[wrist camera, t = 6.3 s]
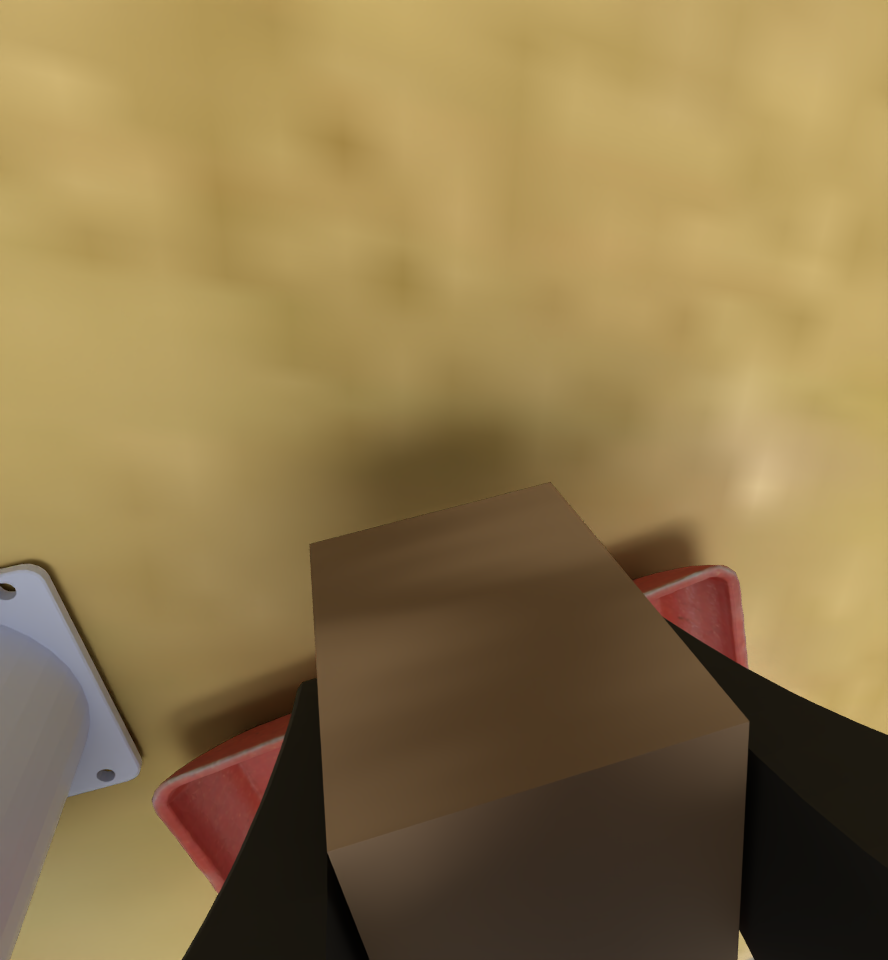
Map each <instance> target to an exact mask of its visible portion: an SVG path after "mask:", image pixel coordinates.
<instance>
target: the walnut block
mask: <svg viewBox="0 0 888 960" xmlns="http://www.w3.org/2000/svg"><path fill="white" fill-rule="evenodd" d="M309 545H310V563H311V580H312V597H313V615H314V632H315V649H316V667H317V684H318V702H319V719H320V736H321V754H322V771H323V788H324V806H325V823H326V841H327V853H328V855H329V858H330V860H331V863H332V866H333V868H334V871H335V873H336V876H337V878H338V881H339V883H340V886H341V888H342V891H343V893H344V896H345V899H346V901H347V904H348V906H349V909H350V911H351V914H352V916H353V919H354V921H355V924H356V926H357V929H358V932H359V934H360V937H361V939H362V942H363V944H364V947H365V949H366V952H367V954H368V957H369V959H370V960H737V959H738V939H739V919H740V899H741V879H742V859H743V839H744V819H745V799H746V779H747V759H748V739H749V720H748V719H747V718H746V717H745V715H744V714H743V713H742V712H741V711H740V709H739V708H738V707H737V706H736V705H735V703H734V702H733V701H732V700H731V699H730V697H729V696H728V695H727V694H726V693H725V691H724V690H723V689H722V688H721V687H720V685H719V684H718V683H717V682H716V681H715V679H714V678H713V677H712V676H711V675H710V673H709V672H708V671H707V670H706V669H705V667H704V666H703V665H702V664H701V663H700V661H699V660H698V659H697V658H696V657H695V655H694V654H693V653H692V652H691V651H690V649H689V648H688V647H687V646H686V644H685V643H684V642H683V641H682V640H681V638H680V637H679V636H678V635H677V634H676V632H675V631H674V630H673V629H672V628H671V626H670V625H669V624H668V623H667V622H666V620H665V619H664V618H663V617H662V616H661V614H660V613H659V612H658V611H657V610H656V608H655V607H654V606H653V605H652V604H651V602H650V601H649V600H648V599H647V598H646V596H645V595H644V594H643V593H642V592H641V590H640V589H639V588H638V587H637V586H636V584H635V583H634V582H633V581H632V580H631V578H630V577H629V576H628V575H627V574H626V572H625V571H624V570H623V569H622V568H621V566H620V565H619V564H618V563H617V562H616V560H615V559H614V558H613V557H612V555H611V554H610V553H609V552H608V551H607V549H606V548H605V547H604V546H603V545H602V543H601V542H600V541H599V540H598V539H597V537H596V536H595V535H594V534H593V533H592V531H591V530H590V529H589V528H588V527H587V525H586V524H585V523H584V522H583V521H582V519H581V518H580V517H579V516H578V515H577V513H576V512H575V511H574V510H573V509H572V507H571V506H570V505H569V504H568V503H567V501H566V500H565V499H564V498H563V497H562V495H561V494H560V493H559V492H558V491H557V489H556V488H555V487H554V486H553V485H552V483H551V482H549V483H545V484H541V485H538V486H534V487H530V488H526V489H522V490H518V491H514V492H510V493H506V494H503V495H499V496H495V497H491V498H487V499H483V500H479V501H475V502H471V503H467V504H464V505H460V506H456V507H452V508H448V509H444V510H440V511H436V512H432V513H429V514H425V515H421V516H417V517H413V518H409V519H405V520H401V521H397V522H394V523H390V524H386V525H382V526H378V527H374V528H370V529H366V530H362V531H358V532H355V533H351V534H347V535H343V536H339V537H335V538H331V539H327V540H323V541H320V542H316V543H312V544H309Z"/></svg>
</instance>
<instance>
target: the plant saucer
mask: <svg viewBox="0 0 888 960" xmlns="http://www.w3.org/2000/svg"><path fill="white" fill-rule="evenodd" d="M632 581H633V582H634V583H635V584H636V586H637V587H638V588H639V589H640V590H641V592H642V593H643V594H644V595H645V596H646V598H647V599H648V600H649V601H650V602H651V604H652V605H653V606H654V607H655V608H656V610H657V611H658V612H659V613H660V614H661V616H662V617H664V618H666V619H667V620H669V621H670V622H672V623H673V624H675V625H676V626H678V627H680V628H681V629H683V630H684V631H686V632H687V633H689V634H690V635H692V636H694V637H695V638H697V639H698V640H700V641H702V642H703V643H705V644H707V645H708V646H710V647H712V648H713V649H715V650H717V651H718V652H720V653H722V654H723V655H725V656H727V657H728V658H730V659H732V660H733V661H735V662H737V663H738V664H740V665H742V666H744V667H745V668H747V669H748V661H747V650H746V636H745V630H744V614H743V610H742V603H741V590H740V584H739V580H738V577H737V575H736V573H735V572H734V571H733V570H732V569H730V568H729V567H727V566H724V565H702V566H689V567H683V568H677V569H673V570H668V571H664V572H659V573H655V574H651V575H648V576H644V577H641V578H637V579H634V580H632ZM290 717H291V714H288V715H286V716H283V717H280V718H278V719H275V720H273V721H270V722H268V723H265V724H262V725H259V726H257V727H255V728H252V729H250V730H248V731H246V732H243V733H241V734H239V735H237V736H235V737H233V738H231V739H230V740H228V741H226V742H224V743H222V744H220V745H218V746H216V747H215V748H213V749H211V750H209V751H208V752H206V753H204V754H202V755H201V756H199V757H197V758H196V759H194V760H193V761H191V762H190V763H188V764H187V765H185V766H184V767H182V768H181V769H179V770H178V771H176V772H175V773H174V774H173V775H171V776H170V777H169V778H168V779H166V780H165V781H164V782H163V783H162V784H160V786H159V787H158V788H157V789H156V790H155V792H154V795H153V798H152V803H153V807H154V809H155V811H156V813H157V815H158V816H159V817H160V819H161V820H162V821H163V822H164V823H165V825H166V826H167V827H168V829H169V830H170V831H171V832H172V834H173V835H174V836H175V837H176V838H177V840H178V841H179V843H180V844H181V846H182V847H183V848H184V849H185V851H186V852H187V853H188V855H189V856H190V857H191V859H192V860H193V861H194V863H195V864H196V866H197V867H198V868H199V869H200V870H201V872H202V873H203V874H204V875H205V876H206V877H207V879H208V880H209V881H210V883H211V884H212V886H213V887H214V889H215V890H216V891H217V893H218V894H219V892H220V890H221V888H222V886H223V884H224V882H225V880H226V878H227V876H228V874H229V872H230V870H231V868H232V866H233V864H234V861H235V859H236V857H237V855H238V853H239V851H240V849H241V846H242V844H243V842H244V839H245V837H246V835H247V833H248V830H249V828H250V826H251V823H252V821H253V819H254V816H255V814H256V812H257V809H258V807H259V805H260V802H261V800H262V797H263V795H264V792H265V790H266V787H267V784H268V782H269V779H270V776H271V773H272V771H273V768H274V765H275V763H276V760H277V757H278V754H279V752H280V749H281V745H282V742H283V739H284V736H285V733H286V730H287V727H288V724H289V720H290Z"/></svg>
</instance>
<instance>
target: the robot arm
mask: <svg viewBox="0 0 888 960" xmlns="http://www.w3.org/2000/svg"><path fill="white" fill-rule="evenodd" d="M0 583H7V584H10V585H12V586H13V587H14V588H15V589H16V591H11V592H9V591H6V590H4V589H3V588H2V587H1V586H0V960H10V958H11V955H12V952H13V949H14V947H15V944H16V941H17V938H18V935H19V932H20V929H21V927H22V924H23V921H24V918H25V915H26V912H27V910H28V907H29V904H30V901H31V898H32V895H33V892H34V890H35V887H36V884H37V881H38V878H39V875H40V873H41V870H42V867H43V864H44V861H45V858H46V856H47V853H48V850H49V847H50V844H51V841H52V838H53V836H54V833H55V830H56V827H57V824H58V821H59V819H60V816H61V813H62V810H63V807H64V804H65V801H66V799H67V797H70V796H74V795H78V794H82V793H85V792H89V791H93V790H96V789H100V788H104V787H107V786H111V785H115V784H119V783H122V782H126V781H129V780H132V779H134V778H135V777H137V776H138V775H139V772H140V770H141V766H142V758H141V756H140V754H139V752H138V750H137V748H136V746H135V744H134V742H133V740H132V738H131V736H130V734H129V732H128V730H127V728H126V726H125V724H124V722H123V720H122V718H121V716H120V714H119V712H118V710H117V708H116V706H115V704H114V702H113V701H112V699H111V697H110V695H109V693H108V691H107V689H106V687H105V685H104V683H103V681H102V679H101V677H100V675H99V673H98V671H97V669H96V667H95V665H94V663H93V661H92V659H91V657H90V655H89V653H88V651H87V649H86V647H85V645H84V643H83V641H82V639H81V637H80V635H79V633H78V631H77V629H76V627H75V625H74V623H73V622H72V620H71V618H70V616H69V614H68V612H67V610H66V608H65V606H64V604H63V602H62V600H61V598H60V596H59V594H58V592H57V590H56V588H55V586H54V584H53V582H52V580H51V578H50V576H49V575H48V573H47V572H46V571H45V570H44V569H43V568H41V567H39V566H37V565H33V564H20V565H16V566H11V567H7V568H2V569H0ZM663 618H664V617H663ZM664 619H665V620H666V622H667V623H668V624H669V625H670V626H671V628H672V629H673V630H674V631H675V632H676V634H677V635H678V636H679V637H680V638H681V640H682V641H683V642H684V643H685V644H686V646H687V647H688V648H689V649H690V651H691V652H692V653H693V654H694V655H695V657H696V658H697V659H698V660H699V661H700V663H701V664H702V665H703V666H704V667H705V669H706V670H707V671H708V672H709V673H710V675H711V676H712V677H713V678H714V679H715V681H716V682H717V683H718V684H719V685H720V687H721V688H722V689H723V690H724V691H725V693H726V694H727V695H728V696H729V697H730V699H731V700H732V701H733V702H734V703H735V705H736V706H737V707H738V708H739V709H740V711H741V712H742V713H743V714H744V715H745V717H746V718H747V719H748V720H749V739H748V759H747V779H746V799H745V819H744V839H743V859H742V879H741V899H740V919H739V930H740V932H741V934H742V936H743V938H744V940H745V942H746V944H747V946H748V948H749V950H750V952H751V954H752V956H753V958H754V960H888V735H886V734H884V733H881V732H879V731H876V730H874V729H871V728H869V727H867V726H864V725H862V724H859V723H857V722H855V721H853V720H850V719H848V718H846V717H844V716H841V715H839V714H837V713H835V712H833V711H830V710H828V709H826V708H824V707H822V706H819V705H817V704H815V703H813V702H811V701H809V700H807V699H805V698H802V697H800V696H798V695H796V694H794V693H792V692H790V691H788V690H786V689H785V688H783V687H781V686H779V685H777V684H775V683H773V682H771V681H769V680H768V679H766V678H764V677H762V676H760V675H758V674H756V673H754V672H753V671H751V670H749V669H747V668H745V667H744V666H742V665H740V664H738V663H737V662H735V661H733V660H732V659H730V658H728V657H727V656H725V655H723V654H722V653H720V652H718V651H717V650H715V649H713V648H712V647H710V646H708V645H707V644H705V643H703V642H702V641H700V640H698V639H697V638H695V637H694V636H692V635H690V634H689V633H687V632H686V631H684V630H683V629H681V628H680V627H678V626H676V625H675V624H673V623H672V622H670V621H669V620H667V619H666V618H664ZM103 769H109V770H112V771H104V770H103ZM182 960H370V959H369V957H368V954H367V952H366V949H365V947H364V944H363V942H362V939H361V937H360V934H359V932H358V929H357V926H356V924H355V921H354V919H353V916H352V914H351V911H350V909H349V906H348V904H347V901H346V899H345V896H344V893H343V891H342V888H341V886H340V883H339V881H338V878H337V876H336V873H335V871H334V868H333V866H332V863H331V860H330V858H329V855H328V853H327V841H326V823H325V806H324V788H323V771H322V754H321V736H320V719H319V702H318V684H317V678H316V679H312V680H309V681H305V682H302V684H301V685H300V686H299V688H298V690H297V694H296V698H295V702H294V706H293V710H292V713H291V717H290V720H289V724H288V727H287V730H286V733H285V736H284V739H283V742H282V745H281V749H280V752H279V754H278V757H277V760H276V763H275V765H274V768H273V771H272V773H271V776H270V779H269V782H268V784H267V787H266V790H265V792H264V795H263V797H262V800H261V802H260V805H259V807H258V809H257V812H256V814H255V816H254V819H253V821H252V823H251V826H250V828H249V830H248V833H247V835H246V837H245V839H244V842H243V844H242V846H241V849H240V851H239V853H238V855H237V857H236V859H235V861H234V864H233V866H232V868H231V870H230V872H229V874H228V876H227V878H226V880H225V882H224V884H223V886H222V888H221V890H220V892H219V894H218V896H217V898H216V899H215V901H214V903H213V905H212V907H211V909H210V911H209V913H208V915H207V917H206V918H205V920H204V922H203V924H202V926H201V927H200V929H199V931H198V933H197V934H196V936H195V938H194V940H193V941H192V943H191V945H190V947H189V948H188V950H187V952H186V954H185V955H184V957H183V959H182Z"/></svg>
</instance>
